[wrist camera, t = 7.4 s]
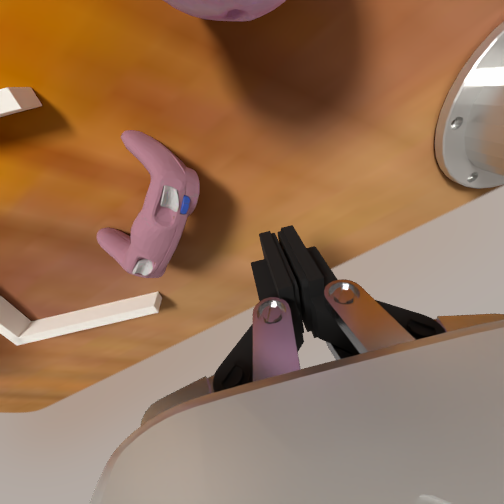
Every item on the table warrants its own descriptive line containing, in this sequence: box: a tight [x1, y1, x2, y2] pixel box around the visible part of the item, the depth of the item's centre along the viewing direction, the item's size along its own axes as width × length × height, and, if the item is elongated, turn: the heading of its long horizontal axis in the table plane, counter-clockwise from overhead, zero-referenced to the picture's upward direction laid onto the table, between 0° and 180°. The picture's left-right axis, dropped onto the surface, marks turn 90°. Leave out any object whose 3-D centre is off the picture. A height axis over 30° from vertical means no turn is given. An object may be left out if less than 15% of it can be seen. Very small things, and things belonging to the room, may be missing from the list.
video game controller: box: [97, 130, 200, 278], centre depth 17 cm, size 10×5×7 cm, turn 150°
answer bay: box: [0, 87, 162, 345], centre depth 19 cm, size 15×19×2 cm
